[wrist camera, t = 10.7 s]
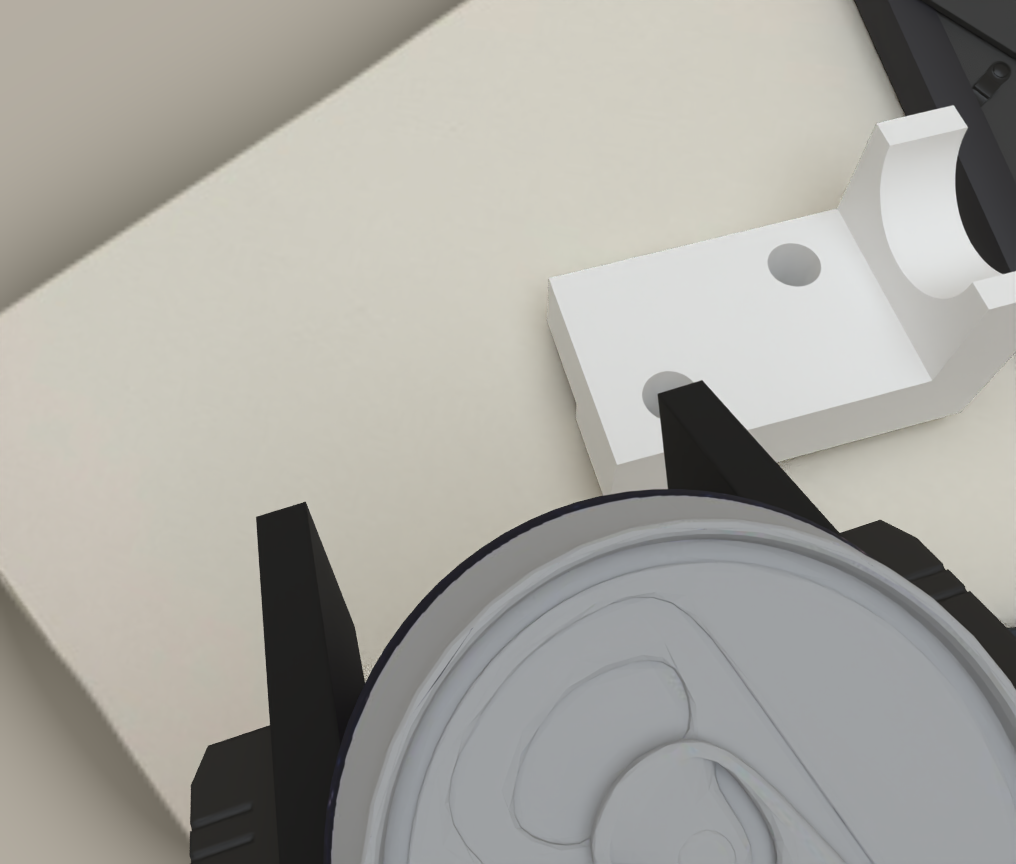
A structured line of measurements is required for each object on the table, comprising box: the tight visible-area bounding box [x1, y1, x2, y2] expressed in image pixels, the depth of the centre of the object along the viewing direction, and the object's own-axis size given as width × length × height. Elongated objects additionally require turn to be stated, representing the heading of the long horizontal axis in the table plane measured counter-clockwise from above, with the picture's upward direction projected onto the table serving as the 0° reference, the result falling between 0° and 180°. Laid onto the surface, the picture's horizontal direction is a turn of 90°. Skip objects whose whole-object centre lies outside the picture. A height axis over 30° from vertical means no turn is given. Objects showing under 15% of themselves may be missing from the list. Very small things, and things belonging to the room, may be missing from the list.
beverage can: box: [323, 489, 1016, 864], centre depth 12 cm, size 6×6×12 cm
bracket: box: [547, 105, 1016, 496], centre depth 31 cm, size 13×7×8 cm, turn 105°
